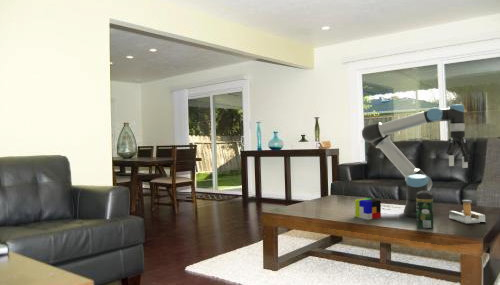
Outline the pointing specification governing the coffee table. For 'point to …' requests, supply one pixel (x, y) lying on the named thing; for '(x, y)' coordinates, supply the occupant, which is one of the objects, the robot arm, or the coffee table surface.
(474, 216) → the white ridged tray
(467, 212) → the orange cylindrical piece
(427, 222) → the coffee jar
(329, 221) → the coffee table surface
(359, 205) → the puzzle toy
